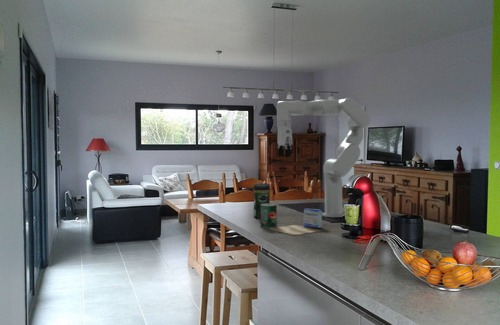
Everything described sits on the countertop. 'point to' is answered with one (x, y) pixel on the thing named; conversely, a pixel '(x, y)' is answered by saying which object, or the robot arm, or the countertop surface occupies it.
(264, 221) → the canned tomato
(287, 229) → the wooden board
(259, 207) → the coffee jar
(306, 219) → the medicine box
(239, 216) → the countertop surface
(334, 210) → the robot arm
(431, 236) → the countertop surface
